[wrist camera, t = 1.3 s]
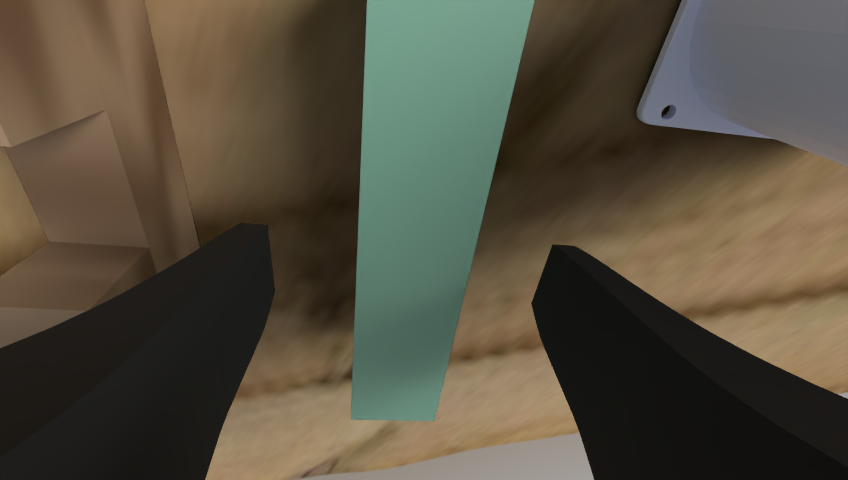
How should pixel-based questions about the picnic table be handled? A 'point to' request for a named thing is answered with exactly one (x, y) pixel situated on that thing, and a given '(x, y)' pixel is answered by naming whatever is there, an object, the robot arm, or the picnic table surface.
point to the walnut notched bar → (87, 157)
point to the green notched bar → (424, 186)
